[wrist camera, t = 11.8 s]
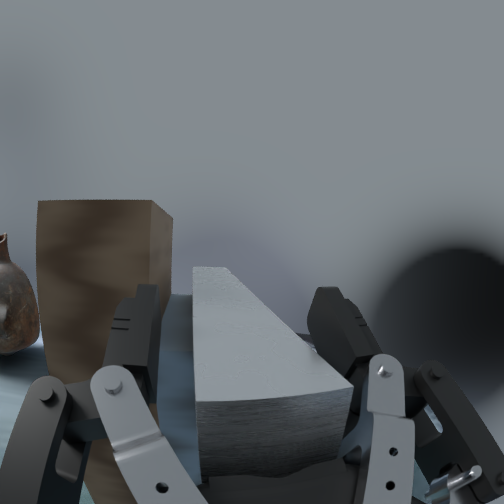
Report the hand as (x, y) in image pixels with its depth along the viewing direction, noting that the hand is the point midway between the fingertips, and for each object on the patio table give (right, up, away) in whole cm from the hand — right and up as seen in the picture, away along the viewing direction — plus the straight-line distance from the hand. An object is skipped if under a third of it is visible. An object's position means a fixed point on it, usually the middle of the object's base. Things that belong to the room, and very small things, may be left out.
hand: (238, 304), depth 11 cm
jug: (-59, -24, +38) cm, 74 cm away
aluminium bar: (-2, -3, +7) cm, 8 cm away
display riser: (-7, -27, +13) cm, 31 cm away
